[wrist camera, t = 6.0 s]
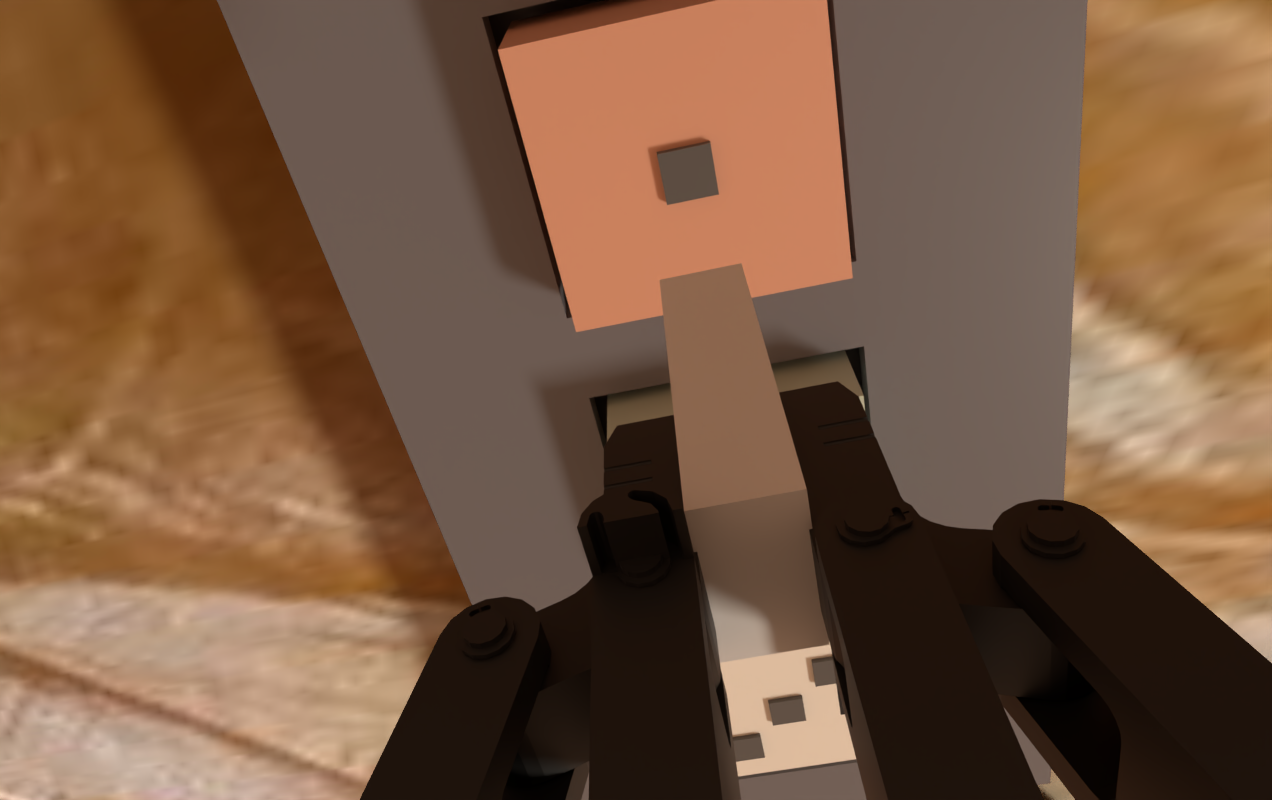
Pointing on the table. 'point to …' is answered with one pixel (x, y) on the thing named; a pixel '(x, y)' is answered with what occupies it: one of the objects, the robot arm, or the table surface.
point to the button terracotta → (681, 146)
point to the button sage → (786, 375)
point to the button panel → (636, 351)
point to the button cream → (786, 711)
